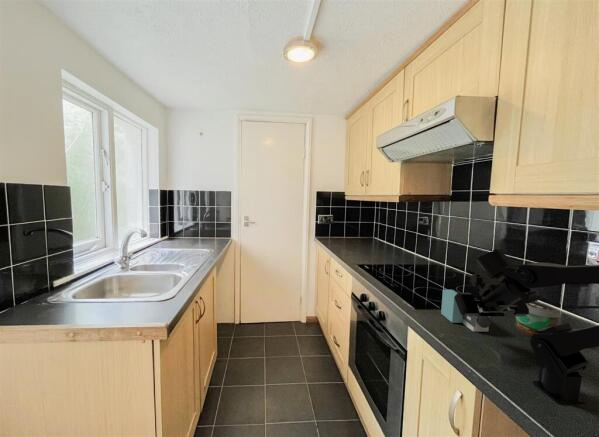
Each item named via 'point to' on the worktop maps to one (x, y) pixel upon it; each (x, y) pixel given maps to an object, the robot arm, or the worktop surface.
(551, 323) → the food container
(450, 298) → the teal block
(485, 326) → the camera housing
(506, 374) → the worktop surface
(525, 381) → the worktop surface
